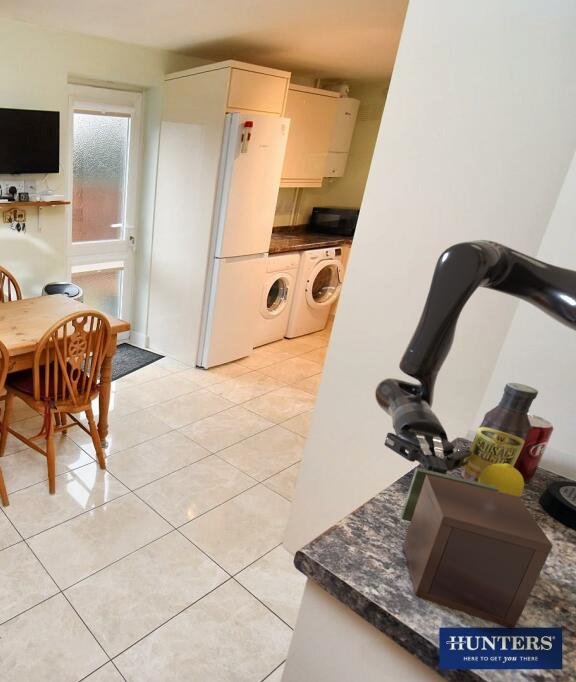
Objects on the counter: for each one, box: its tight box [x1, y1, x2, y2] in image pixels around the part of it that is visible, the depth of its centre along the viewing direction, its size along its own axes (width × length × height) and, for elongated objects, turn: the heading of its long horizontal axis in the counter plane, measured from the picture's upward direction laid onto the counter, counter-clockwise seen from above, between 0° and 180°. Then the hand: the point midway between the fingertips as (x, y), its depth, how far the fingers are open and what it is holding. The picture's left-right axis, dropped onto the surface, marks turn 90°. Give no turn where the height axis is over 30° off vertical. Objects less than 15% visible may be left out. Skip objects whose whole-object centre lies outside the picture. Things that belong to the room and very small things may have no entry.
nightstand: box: [402, 474, 554, 630], centre depth 59 cm, size 10×10×13 cm
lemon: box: [478, 463, 525, 498], centre depth 77 cm, size 6×6×8 cm
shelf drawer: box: [400, 467, 499, 523], centre depth 65 cm, size 11×10×10 cm
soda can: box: [513, 412, 554, 484], centre depth 85 cm, size 7×7×12 cm
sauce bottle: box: [460, 382, 539, 482], centre depth 81 cm, size 6×6×20 cm
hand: (437, 473), depth 74 cm, fingers closed
